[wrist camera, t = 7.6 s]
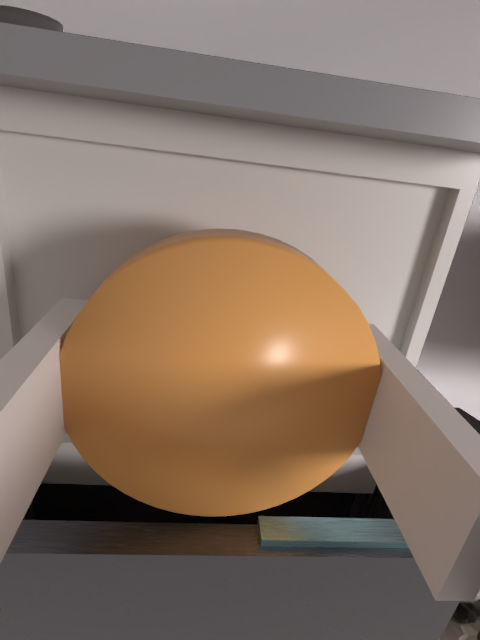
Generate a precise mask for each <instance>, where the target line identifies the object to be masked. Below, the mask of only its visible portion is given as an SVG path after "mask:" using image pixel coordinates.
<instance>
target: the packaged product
mask: <svg viewBox="0 0 480 640" xmlns="http://www.w3.org/2000/svg"><path fill="white" fill-rule="evenodd" d="M479 631H480V590H479V592H478V594H477V596H476V598H475V599H474V601H460V602H459V604H458V606H457V608H456V610H455V612H454V613H453V615H452V617H451V619H450V621H449V623H448V625H447V626H446V628H445V630H444V632H443V634H442V636H441V638H440V639H439V640H477V634H478V633H479Z"/></svg>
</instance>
